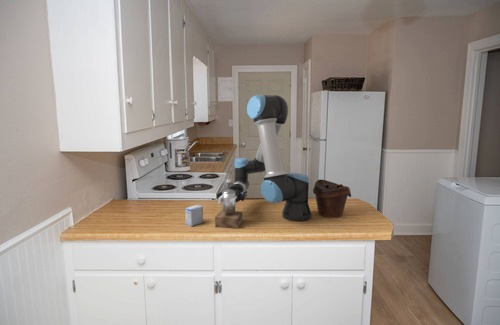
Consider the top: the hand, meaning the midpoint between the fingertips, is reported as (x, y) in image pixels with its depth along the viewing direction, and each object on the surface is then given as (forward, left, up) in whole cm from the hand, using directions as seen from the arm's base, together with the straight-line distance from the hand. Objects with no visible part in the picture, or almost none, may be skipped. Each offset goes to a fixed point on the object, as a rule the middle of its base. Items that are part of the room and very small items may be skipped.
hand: (226, 201), depth 164 cm
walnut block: (0, -5, -13) cm, 14 cm away
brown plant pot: (-50, -31, -13) cm, 60 cm away
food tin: (0, -5, -6) cm, 8 cm away
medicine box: (+17, -2, -13) cm, 22 cm away
